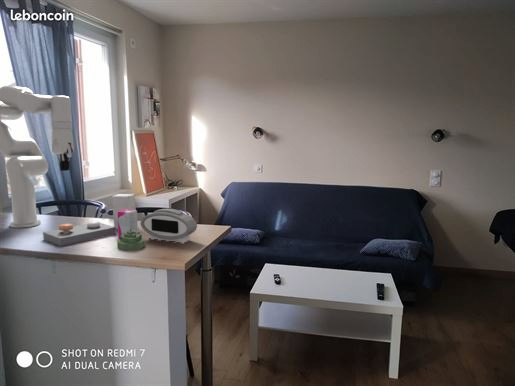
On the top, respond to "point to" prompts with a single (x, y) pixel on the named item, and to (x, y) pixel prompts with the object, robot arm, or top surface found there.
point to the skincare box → (122, 205)
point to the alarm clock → (169, 225)
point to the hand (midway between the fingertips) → (64, 170)
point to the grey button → (93, 224)
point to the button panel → (78, 234)
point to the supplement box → (127, 222)
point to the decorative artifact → (130, 241)
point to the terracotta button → (66, 228)
